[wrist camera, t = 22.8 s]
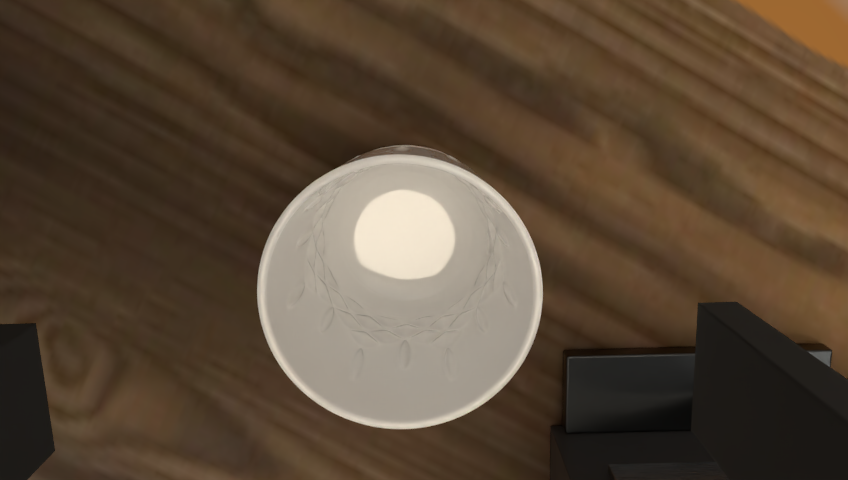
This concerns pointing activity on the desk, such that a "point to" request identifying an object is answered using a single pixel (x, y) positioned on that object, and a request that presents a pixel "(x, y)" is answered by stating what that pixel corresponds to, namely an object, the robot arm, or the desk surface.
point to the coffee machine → (633, 416)
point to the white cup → (400, 289)
